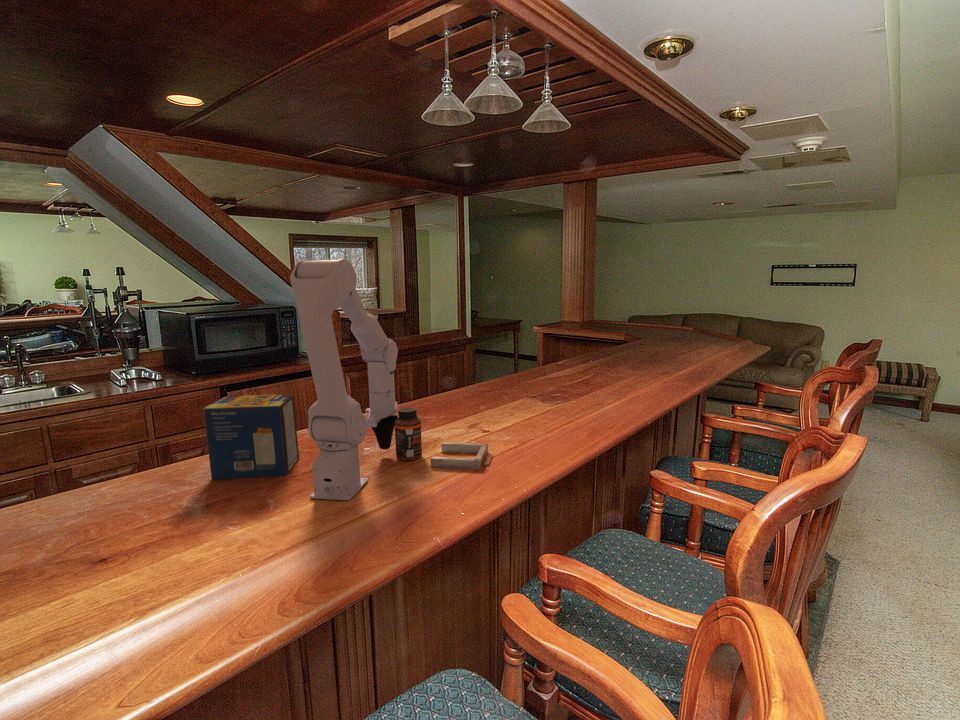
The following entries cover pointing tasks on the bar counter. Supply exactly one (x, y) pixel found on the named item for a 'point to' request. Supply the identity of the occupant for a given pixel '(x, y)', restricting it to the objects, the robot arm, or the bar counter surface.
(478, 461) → the bracket
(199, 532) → the bar counter surface
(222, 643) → the bar counter surface
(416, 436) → the supplement bottle
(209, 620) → the bar counter surface
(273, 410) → the protein box
